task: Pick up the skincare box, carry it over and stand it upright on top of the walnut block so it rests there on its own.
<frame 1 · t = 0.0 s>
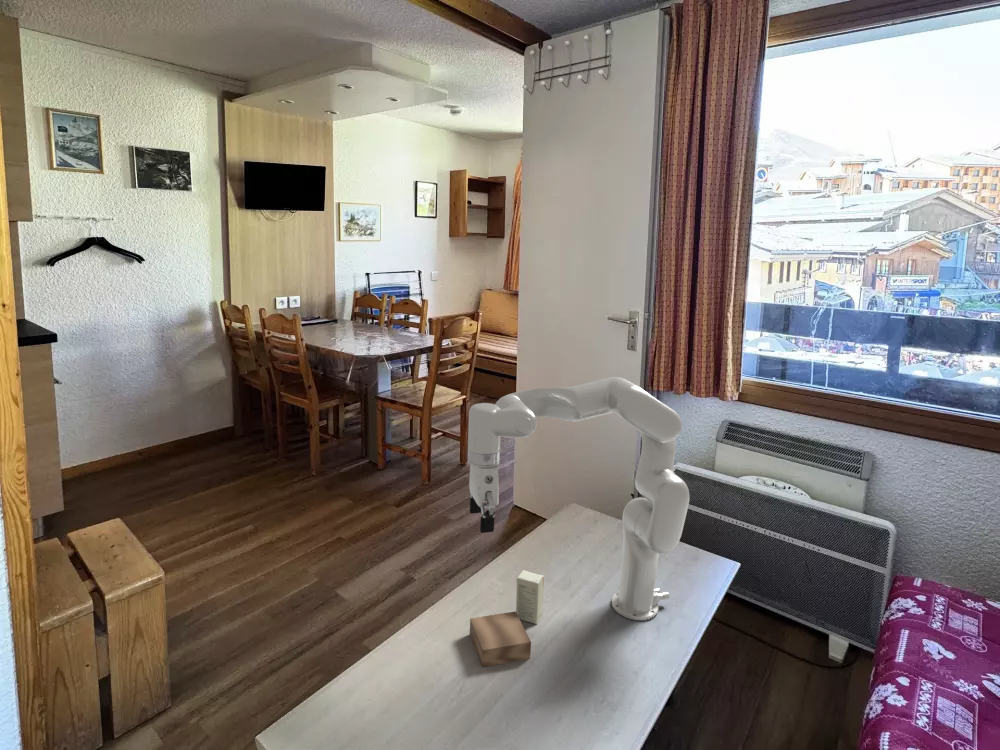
hand: (481, 521, 148), 31 cm above the table, fingers open, 9 cm apart
skincare box: (528, 617, 164), on the table
walnut block: (499, 647, 152), on the table
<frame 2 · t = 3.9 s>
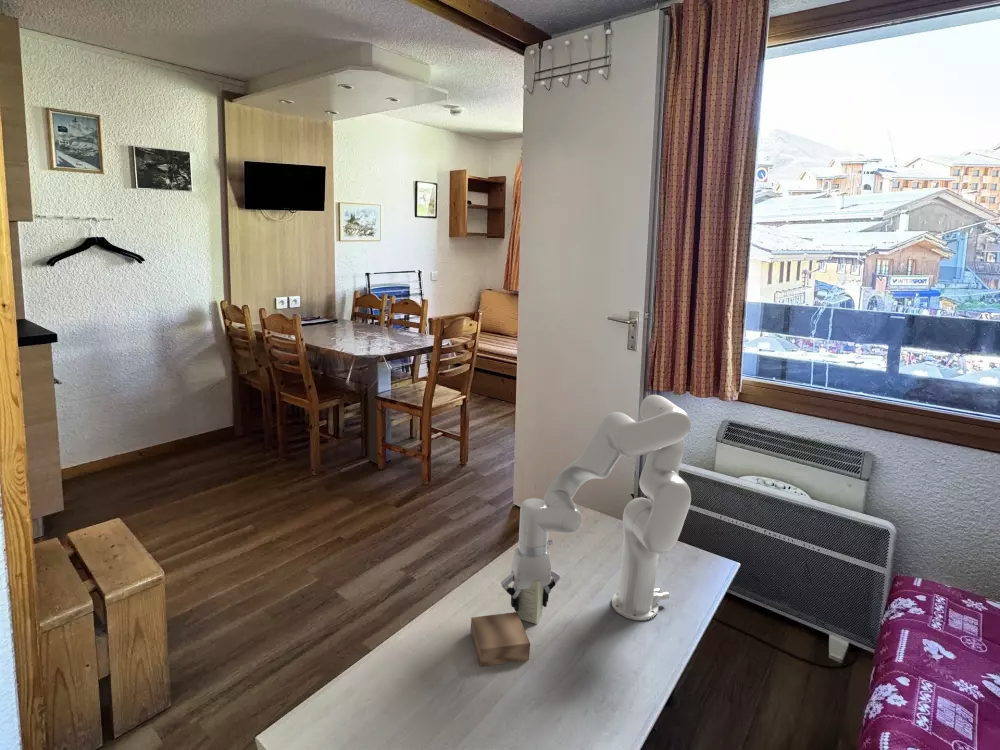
hand: (529, 605, 163), 3 cm above the table, fingers closed on skincare box, 7 cm apart
skincare box: (528, 617, 164), on the table, touching gripper
everything else where it was.
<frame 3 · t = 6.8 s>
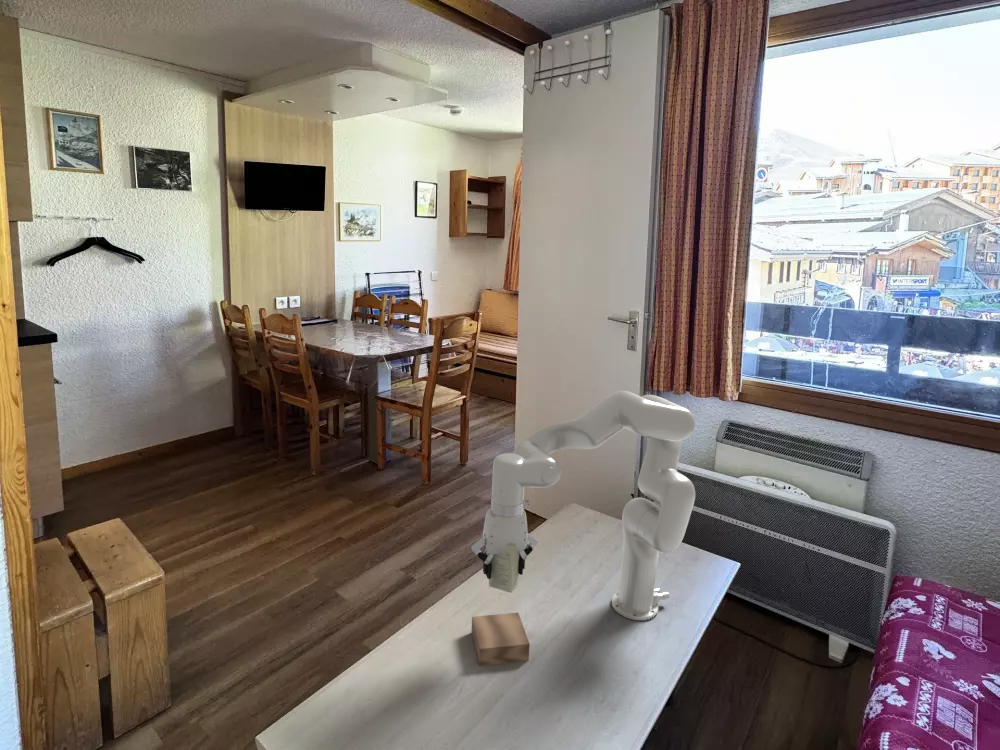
hand: (503, 573, 147), 20 cm above the table, fingers closed on skincare box, 7 cm apart
skincare box: (502, 586, 148), point 16 cm above the table, touching gripper
everything else where it was.
when the fingers open (10 cm above the table, at t = 9.7 s): skincare box drops 2 cm, resting on walnut block.
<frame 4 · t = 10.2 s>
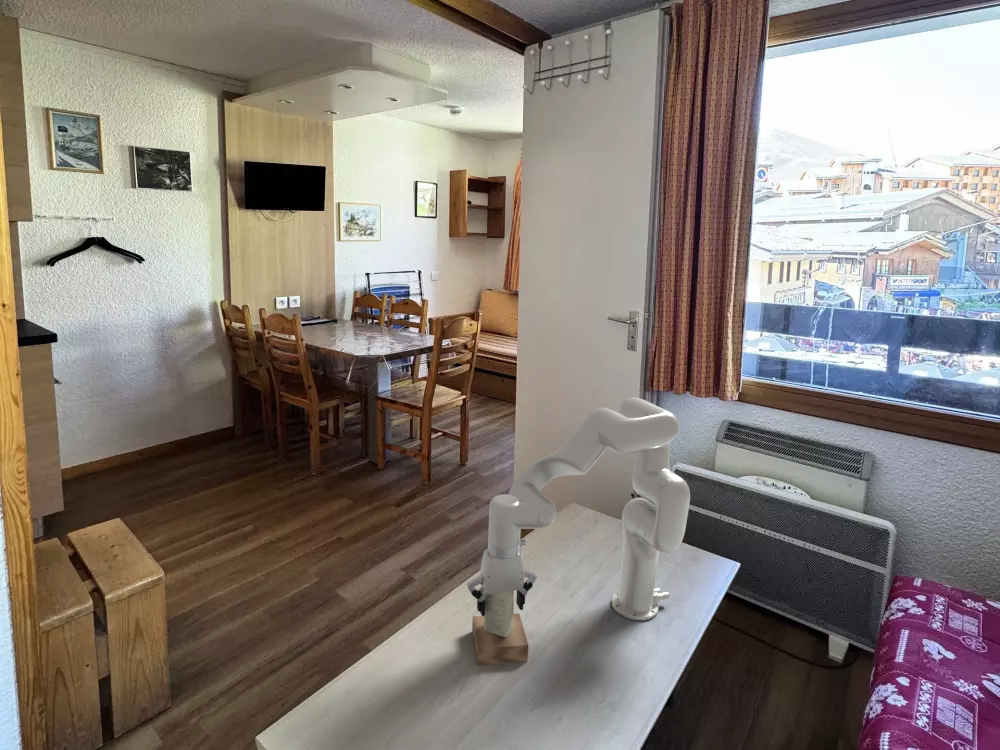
hand: (500, 609, 149), 10 cm above the table, fingers open, 9 cm apart
skincare box: (498, 630, 151), point 4 cm above the table, touching walnut block
walnut block: (498, 647, 152), on the table, touching skincare box
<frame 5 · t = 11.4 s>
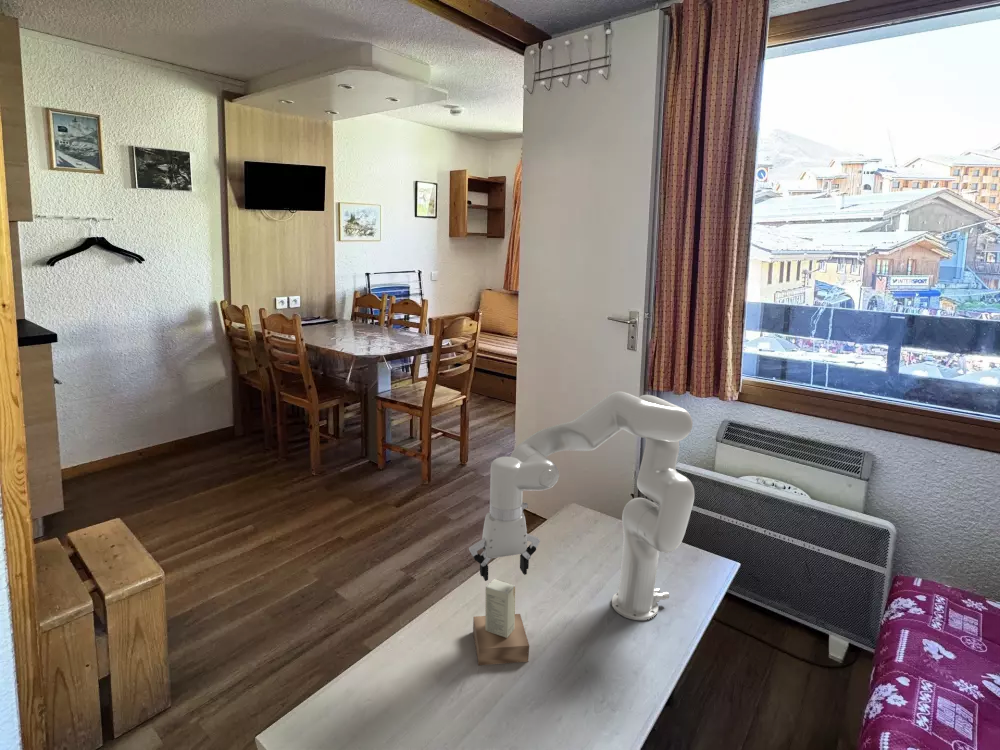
hand: (504, 574, 147), 20 cm above the table, fingers open, 9 cm apart
nothing on the table moved.
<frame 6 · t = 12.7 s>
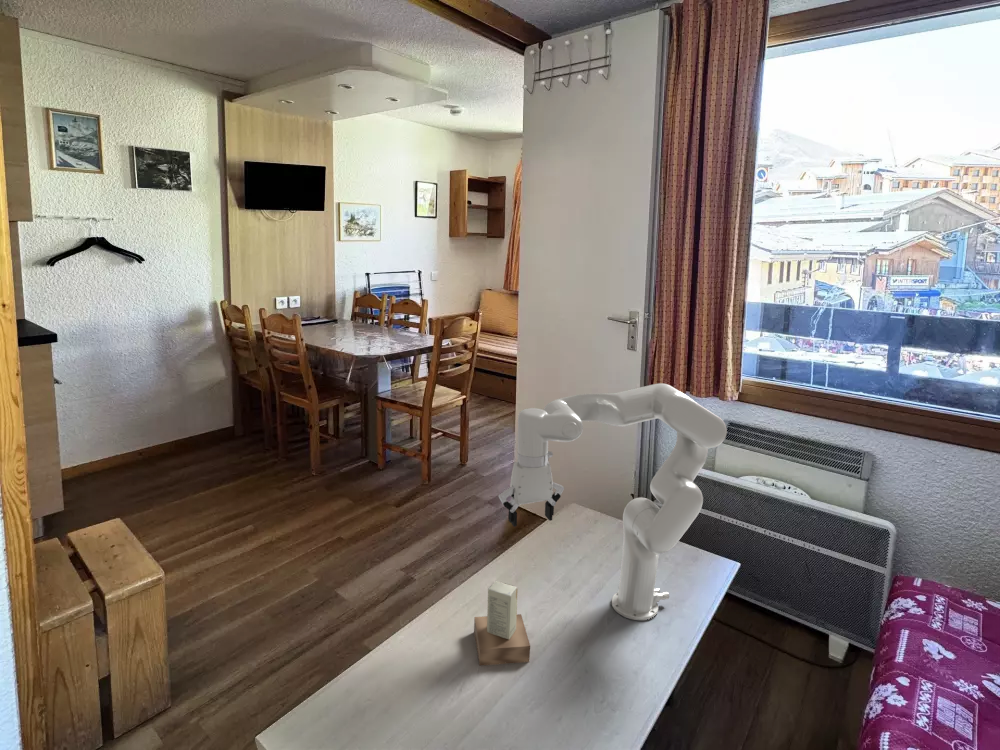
hand: (531, 521, 156), 28 cm above the table, fingers open, 9 cm apart
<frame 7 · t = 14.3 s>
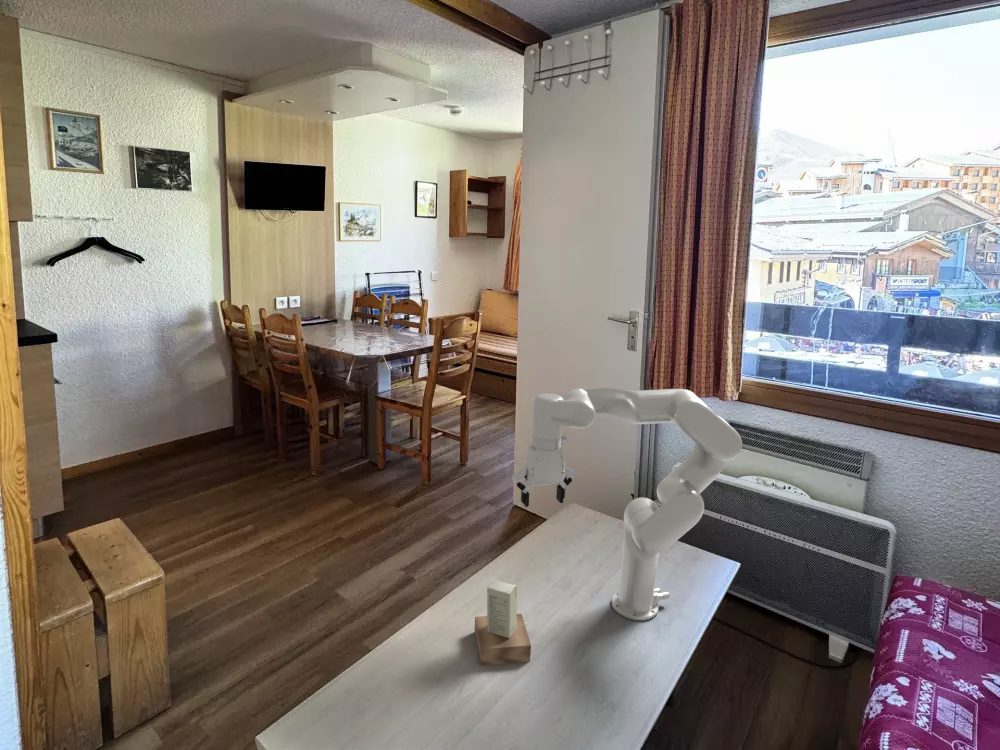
hand: (542, 502, 162), 30 cm above the table, fingers open, 9 cm apart
nothing on the table moved.
at the end: skincare box inside the target area on the walnut block (0.2 cm from its centre), point 4.8 cm above the walnut block's base; skincare box tilted 0°; the gripper is holding nothing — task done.
